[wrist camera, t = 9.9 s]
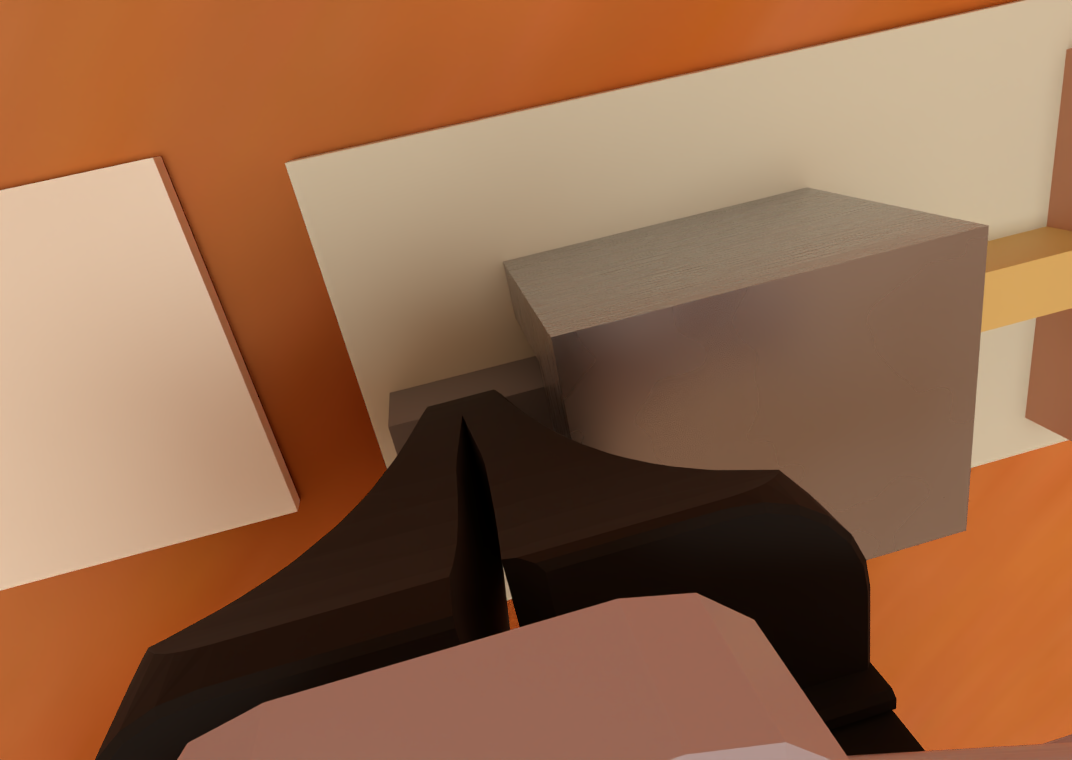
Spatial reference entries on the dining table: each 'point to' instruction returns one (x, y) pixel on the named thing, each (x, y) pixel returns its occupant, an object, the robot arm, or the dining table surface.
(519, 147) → the rail board
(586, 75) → the dining table surface
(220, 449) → the pad
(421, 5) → the dining table surface
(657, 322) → the clip
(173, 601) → the dining table surface
